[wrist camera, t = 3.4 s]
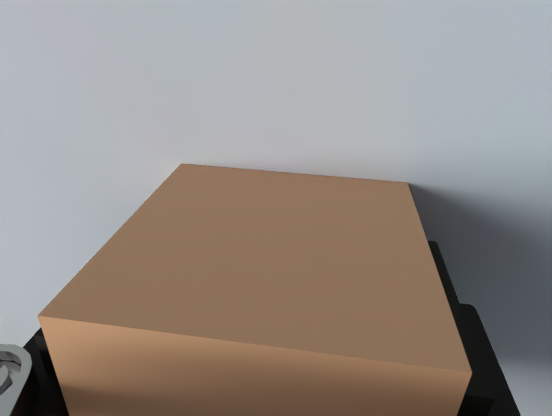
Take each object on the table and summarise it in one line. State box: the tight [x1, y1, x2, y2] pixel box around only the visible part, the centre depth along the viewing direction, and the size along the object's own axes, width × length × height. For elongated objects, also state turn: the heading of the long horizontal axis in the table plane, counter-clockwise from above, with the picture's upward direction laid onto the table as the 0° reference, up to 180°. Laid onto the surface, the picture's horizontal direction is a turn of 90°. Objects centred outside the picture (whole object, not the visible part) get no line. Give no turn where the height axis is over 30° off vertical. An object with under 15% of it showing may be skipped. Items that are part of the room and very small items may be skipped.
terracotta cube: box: [38, 164, 472, 416], centre depth 8 cm, size 5×5×5 cm
